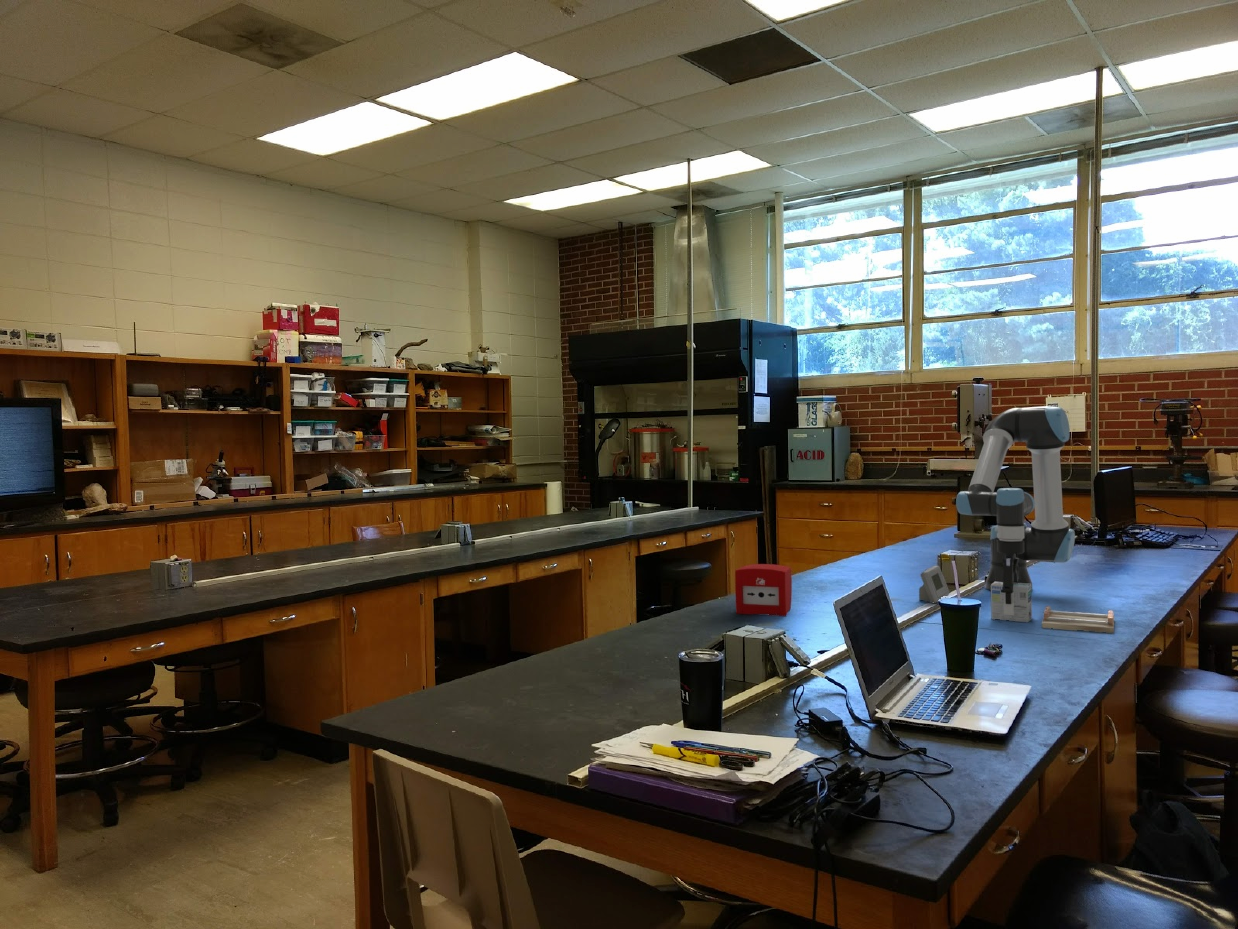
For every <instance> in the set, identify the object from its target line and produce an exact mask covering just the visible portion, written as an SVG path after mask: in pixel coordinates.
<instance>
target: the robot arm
mask: <svg viewBox="0 0 1238 929" xmlns="http://www.w3.org/2000/svg"><path fill="white" fill-rule="evenodd" d="M1069 423H1070V422H1069V418H1068V415H1067V413H1066V410H1064V409H1063V408H1062V407H1059V406H1049V405H1048V406H1047V405H1045V406H1032V407H1013V408H1009V409H1006V410H1005V411H1002V412H1001V413H999V414H998V415H997V416H996V417H994V418H993V419H992V420H991V421H990V423H989V424H988V425H987V426H986V428H985V430H984V433H983V435H982V440H983V445H982V448H981V451H980V453H979V457H978V460H977V462H976V466H975V469H974V471H973V474H972V477H971V480H970V484H969V486H968V490H964V491H963V490H962V491H959V492H958V494H957V496H956V501H955V506H956V509H957V512H958V513H959V514H960V515H966V516H987V517H988V516H992V517H996V525H994V526H992V527H991V530H990V538H989V540H990V568H989V571H988V574H987V578H986V580H985V589H987V590H990V591H991V584H992V583H994V582H1003V589H1002V590H1001V593H1003V596H1004V614H1005V615H1014V593H1013V583H1026V584H1031V591H1033V582H1032V578H1031V576H1030V574H1029V571H1028V567H1027V564H1028V563H1027V561H1028V562H1043V563H1044V562H1045V563H1053V564H1056V563H1060V564H1062V563H1064V564H1065V563H1068V562H1069V561H1070V560H1071V558H1072V555H1073V552H1074V547H1075V540H1076V533H1075V530H1074V529H1072V528H1070V527H1069V526H1070V525H1069V522H1067V520H1066V519H1064V511H1063V510H1064V509H1063V490H1062V489H1063V488H1062V471H1061V453H1060V452H1061V450H1062V449H1063V448H1064V447H1065V443H1066V442H1068V441H1069V439H1070V431H1071V430H1070V428H1071V427H1070V424H1069ZM1014 443H1025V446H1026V449H1027V450H1029V452H1030V453H1031V463H1032V464H1031V468H1032V482H1033V485H1032V486H1033V496H1032V495H1031V494H1030V493H1028V492H1026V491H1024V490H1023V489H1022V488H1019V487H1003V488H1002V487H1001V488H998V489H997V491H995V488H996V485H997V483H998V480H999V476H1000V474H1001V469H1002V467H1003V464H1004V461H1005V458H1006V455H1007V453H1008V449H1010V448H1011V447H1012V446H1013V444H1014ZM1033 511H1034V517H1035V518H1034V520H1033V521H1032V522H1031V523H1030V527H1028V525H1027V523H1025V517H1026V516H1028V515H1029V514H1030V515H1031V513H1032V512H1033Z"/></svg>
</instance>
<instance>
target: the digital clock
mask: <svg viewBox="0 0 1238 929" xmlns="http://www.w3.org/2000/svg"><path fill="white" fill-rule="evenodd" d="M920 577H921V580H922V583H923V585H922V586H920V587H919V588H918V595H919V596H918V598H919V601H920V600H925V601H924V602H927V601H931V602H934V603H933V604H937V603H939V602H938V600H939V599H941V597H943V596H947V597H948V596H949V595H950V590H949V588H948V585H947V582H946V579H945V577H944V574H943V573H942V570H941V567H940V565H933V566H931V567H929V568H926V569H925V570H924V571H922V572H921V573H920ZM931 602H930V603H931ZM936 602H937V603H936Z"/></svg>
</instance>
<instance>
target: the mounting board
mask: <svg viewBox="0 0 1238 929" xmlns="http://www.w3.org/2000/svg"><path fill="white" fill-rule="evenodd" d="M1050 617H1056V618H1069V619H1083V620H1096V621H1108V618H1101V617H1087V616H1073V615H1059V614H1050ZM1041 628H1042V629H1051V628H1053V630H1066V631H1077V630H1084V631H1083V632H1089V631H1095V632H1094V633H1102V632H1106V633H1105V634H1114V633H1115V632H1114V631H1115V630H1114V629H1115V615H1114V614H1113V625H1103V624H1090V623H1076V622H1063V621H1050V620H1044V617H1043V619H1042V621H1041Z"/></svg>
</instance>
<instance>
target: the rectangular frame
mask: <svg viewBox="0 0 1238 929" xmlns="http://www.w3.org/2000/svg"><path fill="white" fill-rule="evenodd" d="M1050 614H1059V615H1073V616H1087V617H1101V618H1108V621H1096V620H1083V619H1069V618H1056V617H1050ZM1113 615H1114V610H1108V614H1107V613H1106V614H1104V613H1103V614H1102V613H1092V612H1091V613H1089V612H1076V611H1074V612H1073V611H1061V610H1060V611H1059V610H1052V607H1051V606H1048V605H1047V606H1045V609H1044V612H1043V618H1044V620H1050V621H1063V622H1076V623H1090V624H1103V625H1113Z"/></svg>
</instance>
